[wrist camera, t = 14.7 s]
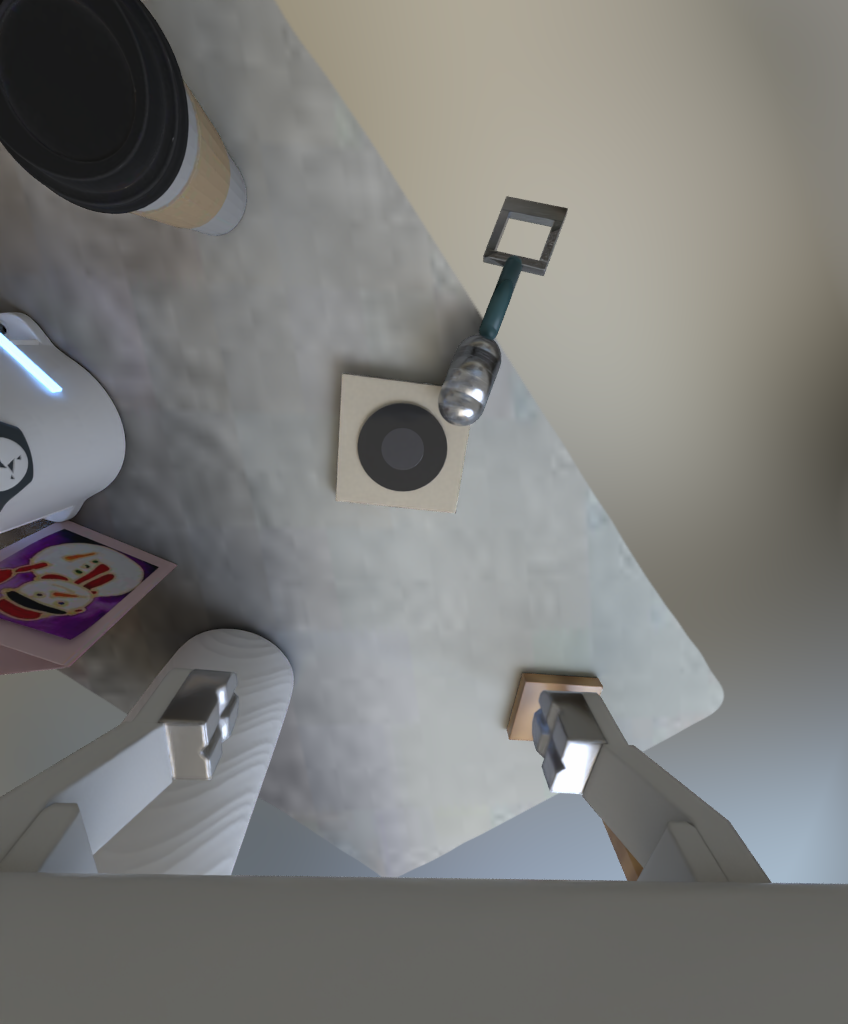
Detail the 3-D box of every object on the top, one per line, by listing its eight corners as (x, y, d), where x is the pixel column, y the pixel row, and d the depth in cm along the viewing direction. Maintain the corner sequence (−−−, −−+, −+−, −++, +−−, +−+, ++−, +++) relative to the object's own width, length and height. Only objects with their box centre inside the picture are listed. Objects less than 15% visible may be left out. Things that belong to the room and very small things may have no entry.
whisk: (485, 424, 31) (572, 190, 34) (418, 404, 32) (507, 178, 35) (484, 441, 35) (562, 230, 37) (425, 422, 36) (504, 218, 38)
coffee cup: (148, 91, 29) (-91, -145, 15) (280, 141, 30) (173, -33, 16) (142, 239, 32) (-57, 158, 18) (262, 278, 34) (160, 230, 20)
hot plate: (337, 496, 41) (335, 502, 39) (344, 372, 37) (341, 373, 35) (454, 508, 42) (455, 514, 40) (473, 389, 38) (476, 391, 36)
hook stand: (470, 727, 54) (517, 1011, 31) (483, 669, 50) (548, 942, 27) (577, 733, 55) (700, 1011, 32) (598, 677, 52) (753, 945, 28)
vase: (319, 660, 49) (187, 1126, 20) (261, 731, 53) (80, 1206, 24) (208, 602, 45) (-157, 1068, 16) (155, 683, 49) (-215, 1174, 20)
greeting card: (179, 558, 43) (71, 658, 29) (159, 610, 45) (50, 726, 31) (65, 511, 41) (-112, 596, 27) (51, 568, 43) (-121, 674, 29)
